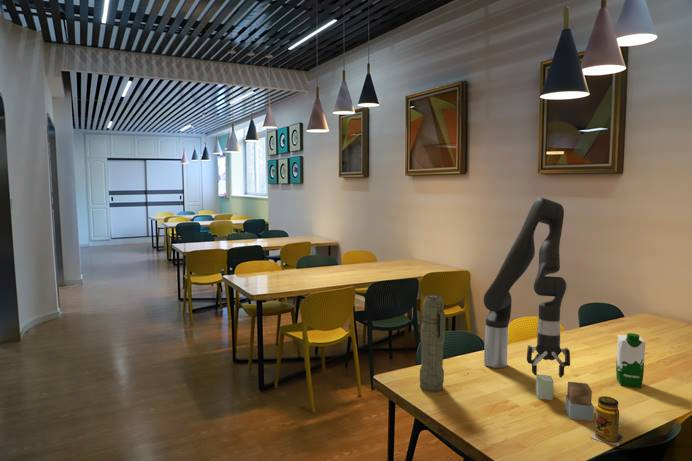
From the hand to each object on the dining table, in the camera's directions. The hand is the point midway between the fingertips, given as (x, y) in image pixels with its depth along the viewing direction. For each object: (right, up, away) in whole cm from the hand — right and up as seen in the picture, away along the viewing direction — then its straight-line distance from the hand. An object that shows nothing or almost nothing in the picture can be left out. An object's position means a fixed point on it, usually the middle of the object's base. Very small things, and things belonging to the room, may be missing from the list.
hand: (547, 375), depth 167 cm
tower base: (+5, -9, -13) cm, 17 cm away
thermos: (-41, -7, +8) cm, 42 cm away
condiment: (+6, -10, -27) cm, 29 cm away
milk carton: (+37, -7, +13) cm, 40 cm away
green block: (-1, -8, +1) cm, 8 cm away
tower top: (+4, -4, -14) cm, 15 cm away
